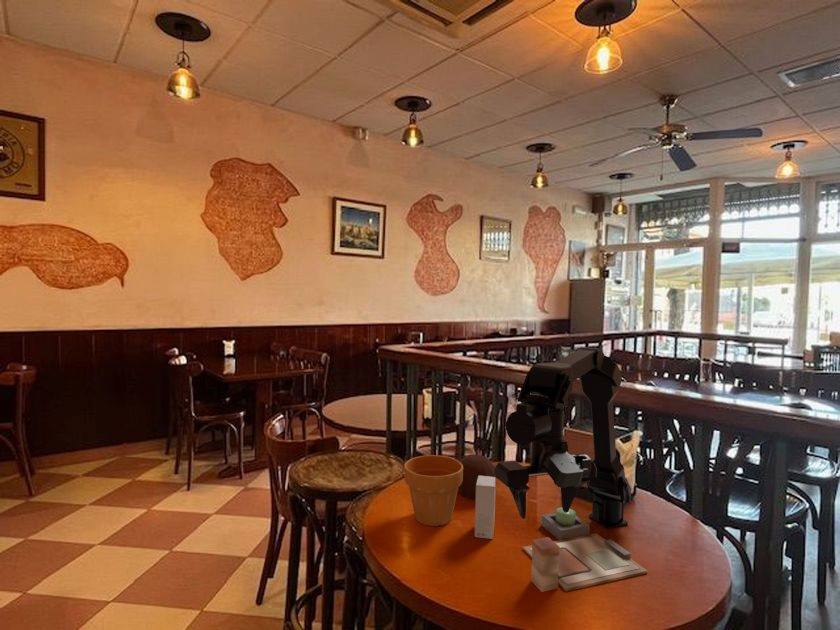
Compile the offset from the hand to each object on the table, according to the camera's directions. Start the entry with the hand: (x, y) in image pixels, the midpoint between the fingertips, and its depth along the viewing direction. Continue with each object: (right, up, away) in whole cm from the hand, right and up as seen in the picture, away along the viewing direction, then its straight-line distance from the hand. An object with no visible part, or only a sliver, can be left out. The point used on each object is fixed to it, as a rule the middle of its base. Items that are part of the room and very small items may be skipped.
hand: (544, 514), depth 89 cm
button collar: (+10, -12, +21) cm, 26 cm away
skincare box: (-8, -12, +20) cm, 25 cm away
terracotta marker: (0, -13, 0) cm, 13 cm away
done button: (+10, -11, +21) cm, 25 cm away
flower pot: (-20, -12, +26) cm, 35 cm away
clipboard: (+10, -13, +8) cm, 18 cm away
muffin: (-8, -11, +41) cm, 43 cm away
